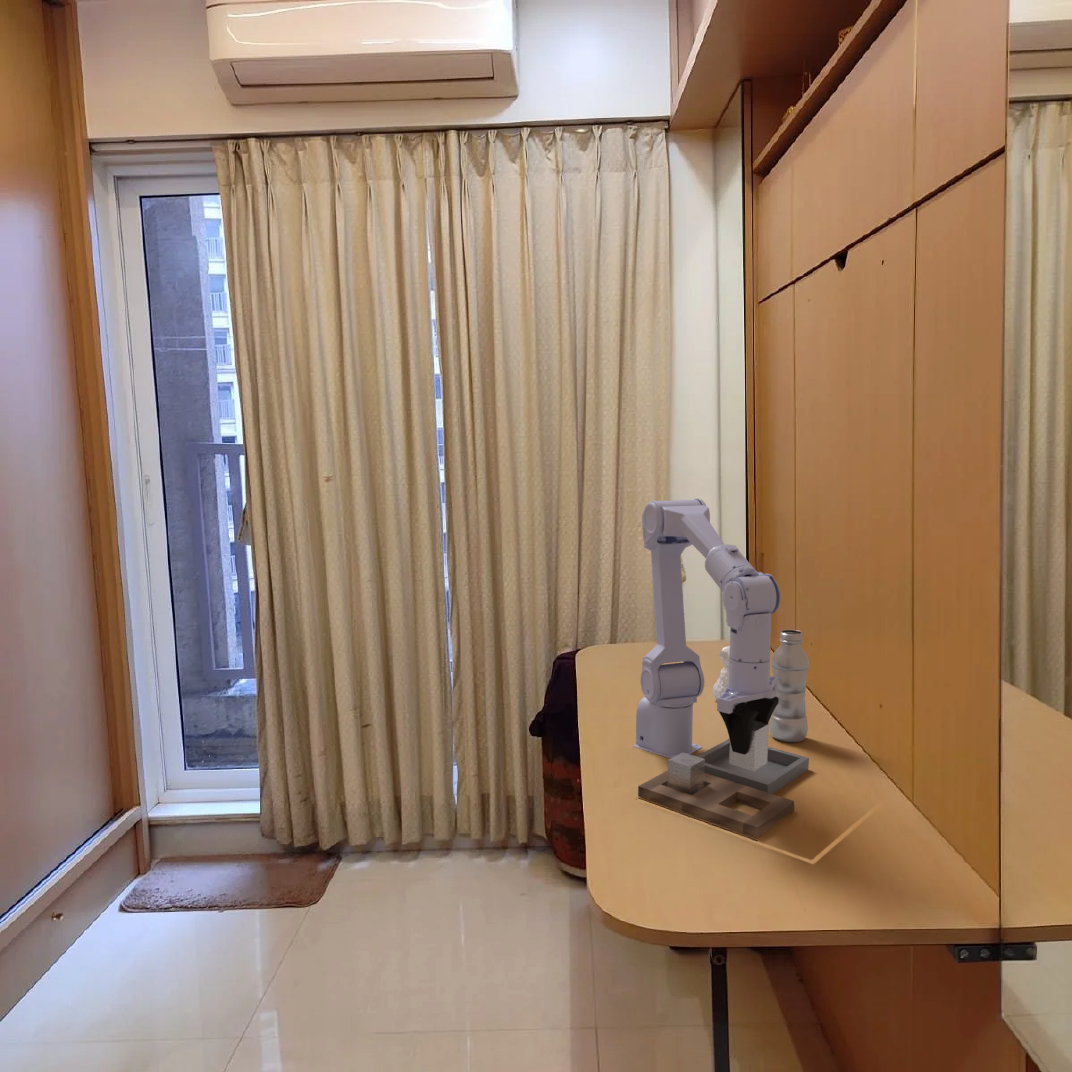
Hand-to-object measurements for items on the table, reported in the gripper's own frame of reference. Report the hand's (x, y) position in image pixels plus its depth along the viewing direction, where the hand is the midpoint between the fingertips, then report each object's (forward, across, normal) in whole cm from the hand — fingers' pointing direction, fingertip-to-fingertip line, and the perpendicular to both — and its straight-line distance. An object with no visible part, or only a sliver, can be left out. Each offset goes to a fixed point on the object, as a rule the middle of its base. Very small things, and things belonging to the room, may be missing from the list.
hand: (747, 747), depth 124 cm
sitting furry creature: (+10, +42, +26) cm, 50 cm away
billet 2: (+2, 0, 0) cm, 2 cm away
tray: (+10, +12, +6) cm, 16 cm away
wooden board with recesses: (+10, -2, +4) cm, 11 cm away
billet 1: (+10, -2, +9) cm, 13 cm away
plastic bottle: (+10, +30, +8) cm, 32 cm away
